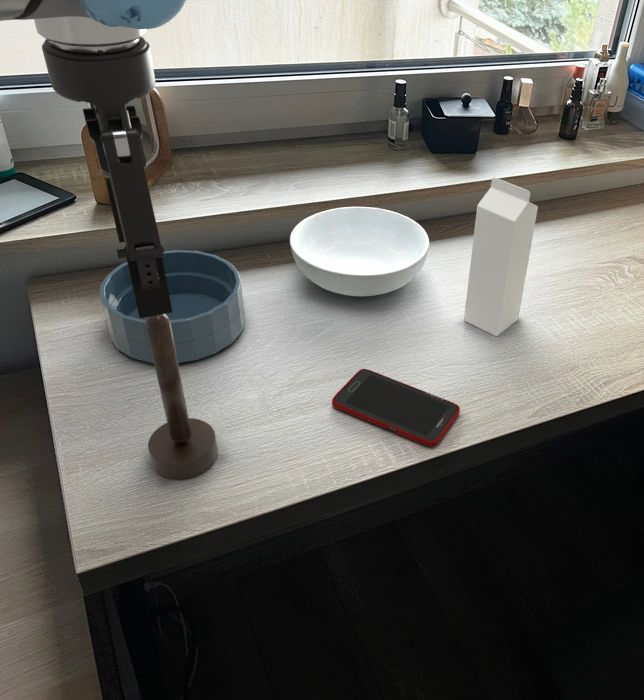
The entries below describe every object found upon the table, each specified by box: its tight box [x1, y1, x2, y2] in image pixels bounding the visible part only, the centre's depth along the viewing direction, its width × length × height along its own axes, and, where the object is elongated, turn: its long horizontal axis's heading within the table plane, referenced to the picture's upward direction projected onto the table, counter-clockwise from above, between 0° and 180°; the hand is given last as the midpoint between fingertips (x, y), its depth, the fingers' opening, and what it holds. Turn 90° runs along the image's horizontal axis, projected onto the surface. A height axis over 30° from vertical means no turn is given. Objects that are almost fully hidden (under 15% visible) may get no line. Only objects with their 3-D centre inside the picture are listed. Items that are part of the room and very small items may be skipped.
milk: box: [463, 176, 539, 337], centre depth 101 cm, size 6×6×22 cm
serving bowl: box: [289, 206, 430, 297], centre depth 111 cm, size 21×21×7 cm
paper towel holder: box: [145, 314, 219, 481], centre depth 75 cm, size 7×7×20 cm
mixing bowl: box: [99, 249, 246, 364], centre depth 97 cm, size 17×17×7 cm
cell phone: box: [331, 368, 461, 448], centre depth 90 cm, size 8×15×1 cm, turn 65°
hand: (143, 273), depth 68 cm, fingers open, 13 cm apart
